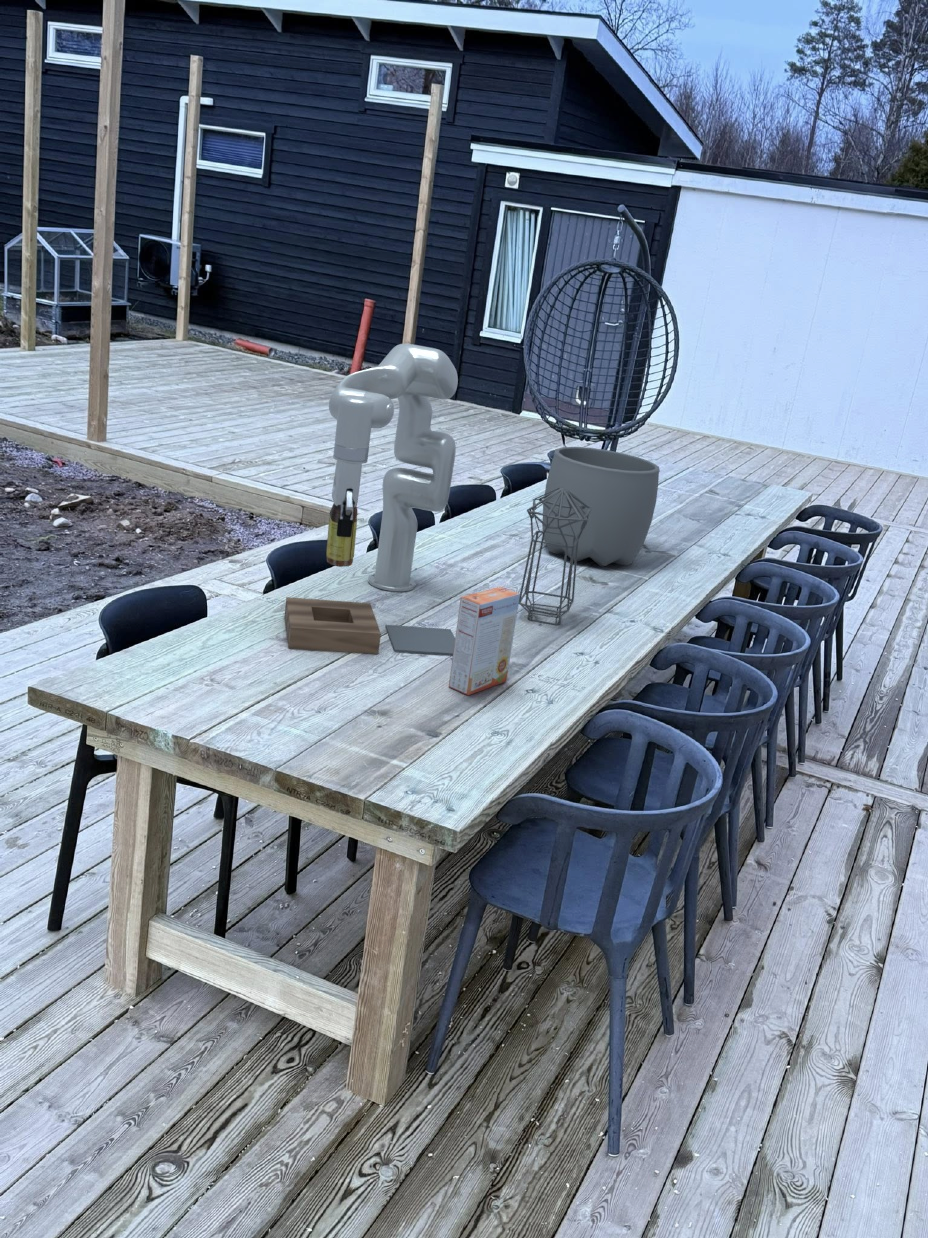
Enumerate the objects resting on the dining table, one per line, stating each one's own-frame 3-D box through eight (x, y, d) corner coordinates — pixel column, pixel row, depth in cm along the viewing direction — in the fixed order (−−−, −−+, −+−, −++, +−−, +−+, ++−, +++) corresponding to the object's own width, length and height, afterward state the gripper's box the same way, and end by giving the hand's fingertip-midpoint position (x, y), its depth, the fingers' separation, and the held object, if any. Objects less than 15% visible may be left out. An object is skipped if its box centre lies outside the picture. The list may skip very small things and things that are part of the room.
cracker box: (486, 673, 252) (500, 585, 245) (507, 682, 249) (522, 593, 242) (445, 686, 241) (459, 594, 234) (467, 696, 238) (482, 603, 231)
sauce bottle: (339, 557, 259) (348, 473, 252) (358, 565, 255) (368, 480, 249) (318, 561, 254) (327, 475, 247) (338, 569, 250) (347, 482, 244)
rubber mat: (385, 626, 271) (385, 624, 270) (450, 631, 274) (450, 629, 274) (394, 652, 256) (394, 649, 256) (462, 656, 260) (463, 654, 259)
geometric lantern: (569, 633, 286) (591, 499, 274) (508, 622, 288) (527, 489, 277) (576, 614, 301) (596, 486, 289) (518, 604, 303) (536, 476, 291)
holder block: (284, 616, 267) (286, 597, 265) (367, 622, 271) (370, 603, 270) (288, 648, 248) (290, 627, 247) (378, 654, 253) (380, 633, 251)
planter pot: (523, 555, 348) (540, 455, 338) (547, 533, 379) (563, 441, 368) (634, 580, 340) (655, 478, 330) (649, 556, 371) (669, 462, 360)
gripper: (330, 442, 253) (322, 519, 259) (337, 460, 237) (328, 542, 243) (363, 446, 255) (354, 522, 261) (372, 464, 239) (363, 544, 245)
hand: (342, 531), depth 252 cm, fingers closed on sauce bottle, 6 cm apart
